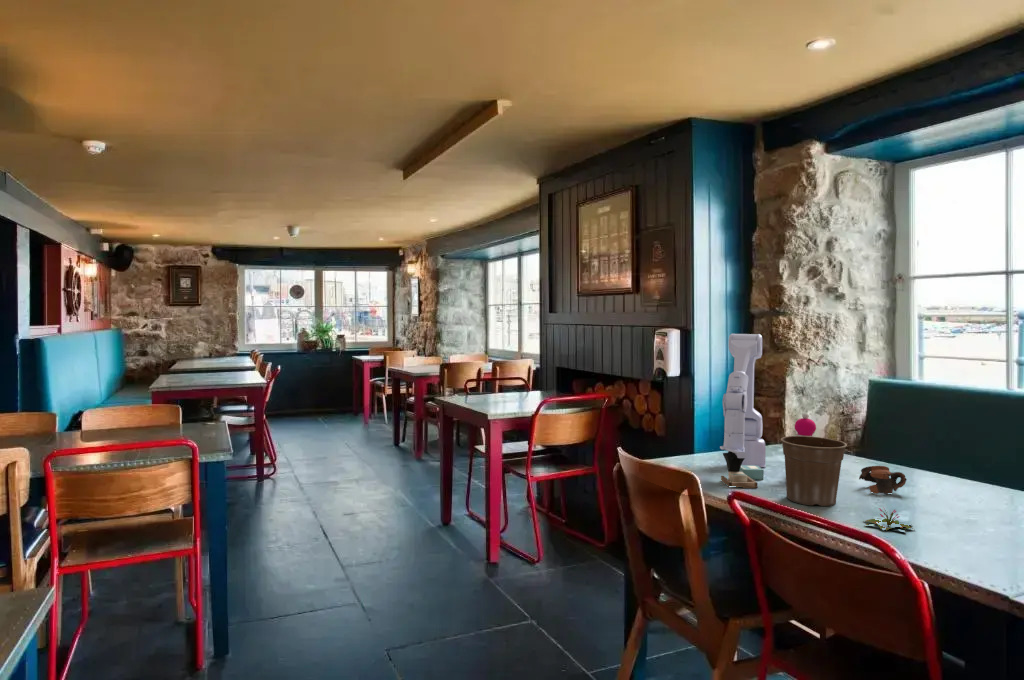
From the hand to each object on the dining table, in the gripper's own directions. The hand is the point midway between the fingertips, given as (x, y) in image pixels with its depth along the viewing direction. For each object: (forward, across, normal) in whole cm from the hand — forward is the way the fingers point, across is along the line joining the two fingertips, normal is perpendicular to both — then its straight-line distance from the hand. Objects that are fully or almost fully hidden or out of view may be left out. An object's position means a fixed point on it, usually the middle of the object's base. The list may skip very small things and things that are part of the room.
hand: (733, 477), depth 207 cm
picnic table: (+1, +4, 0) cm, 5 cm away
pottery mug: (+1, +10, +39) cm, 40 cm away
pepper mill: (+1, -4, +22) cm, 23 cm away
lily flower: (+2, +43, +23) cm, 49 cm away
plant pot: (+1, +21, +14) cm, 26 cm away
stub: (+1, +4, 0) cm, 4 cm away
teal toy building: (+1, -5, +6) cm, 8 cm away
